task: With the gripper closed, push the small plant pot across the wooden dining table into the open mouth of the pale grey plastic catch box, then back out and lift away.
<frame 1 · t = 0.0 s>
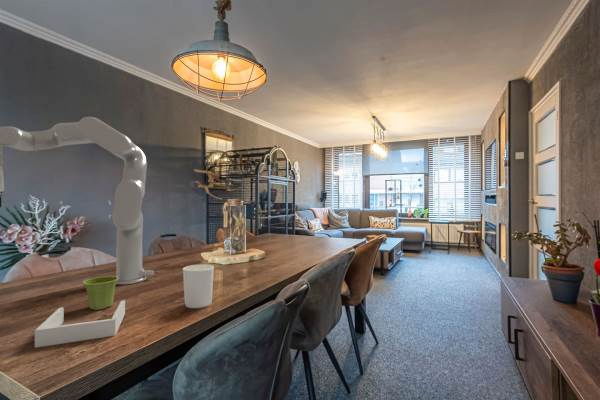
candle holder: (198, 304, 97), on the table
plant pot: (101, 307, 94), on the table
catch box: (86, 328, 79), on the table
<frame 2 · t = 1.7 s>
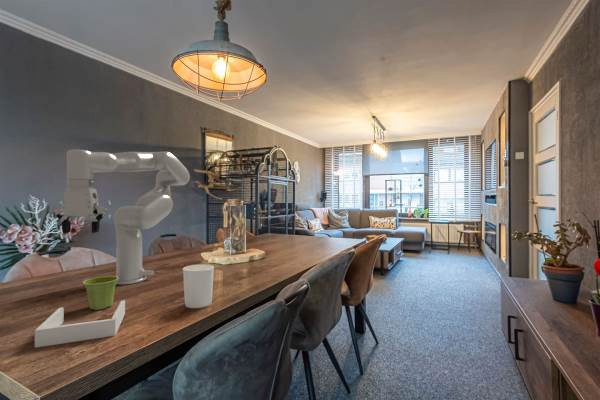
hand: (81, 232, 106), 22 cm above the table, tool pointing down, fingers open, 9 cm apart
nothing on the table moved.
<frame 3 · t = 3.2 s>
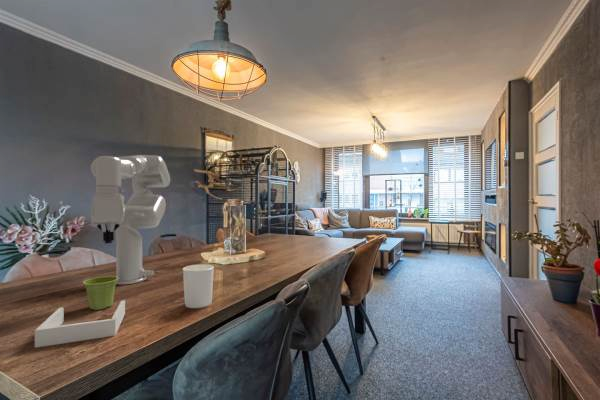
hand: (108, 242, 105), 19 cm above the table, tool pointing down, fingers closed
nothing on the table moved.
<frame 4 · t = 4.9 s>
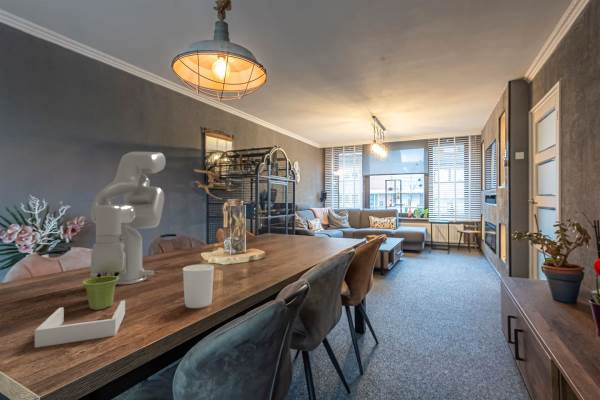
hand: (108, 291, 105), 2 cm above the table, tool pointing down, fingers closed
nothing on the table moved.
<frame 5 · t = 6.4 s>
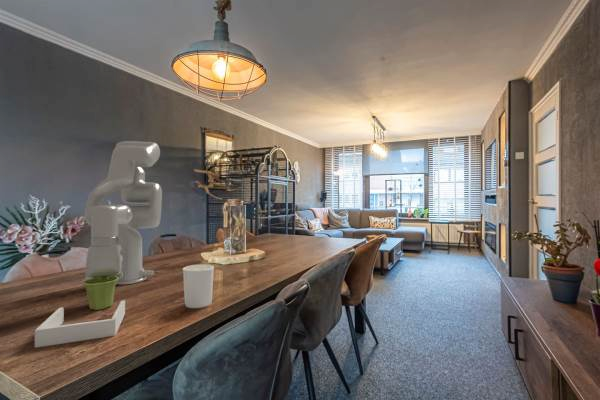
hand: (104, 296, 99), 2 cm above the table, tool pointing down, fingers closed
plant pot: (100, 307, 94), on the table, touching gripper
everything else where it was.
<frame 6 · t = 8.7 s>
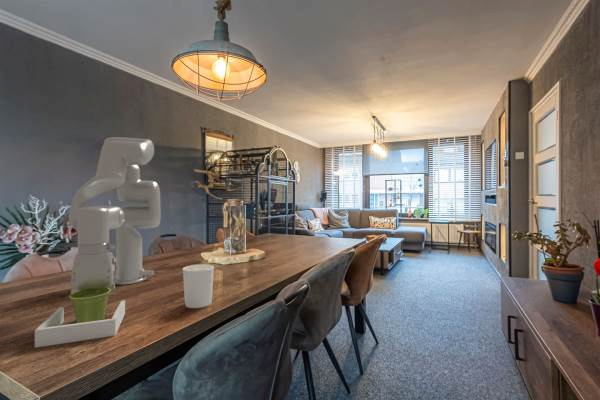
hand: (93, 312, 86), 1 cm above the table, tool pointing down, fingers closed
plant pot: (90, 324, 81), on the table, touching gripper
everything else where it was.
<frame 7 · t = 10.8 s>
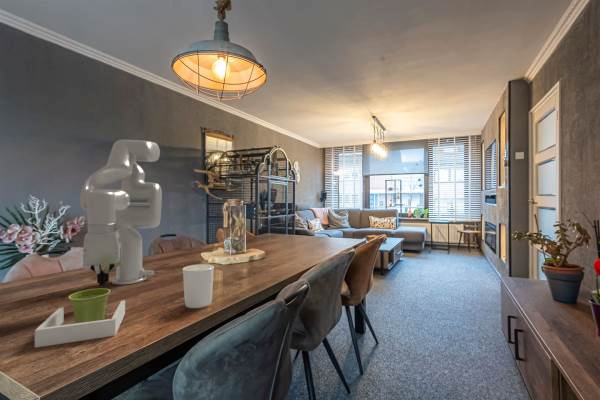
hand: (103, 284, 96), 7 cm above the table, tool pointing down, fingers closed
plant pot: (89, 325, 81), on the table
everything else where it was.
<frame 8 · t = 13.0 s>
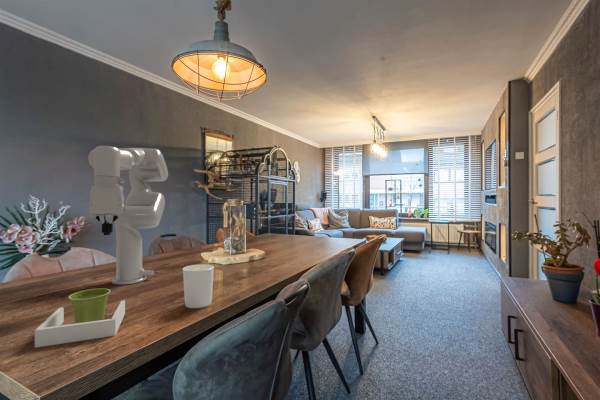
hand: (107, 234, 103), 22 cm above the table, tool pointing down, fingers closed
nothing on the table moved.
at the end: plant pot inside the target area on the catch box (1.9 cm from its centre), point 0.0 cm above the catch box's base; plant pot tilted 0° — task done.
